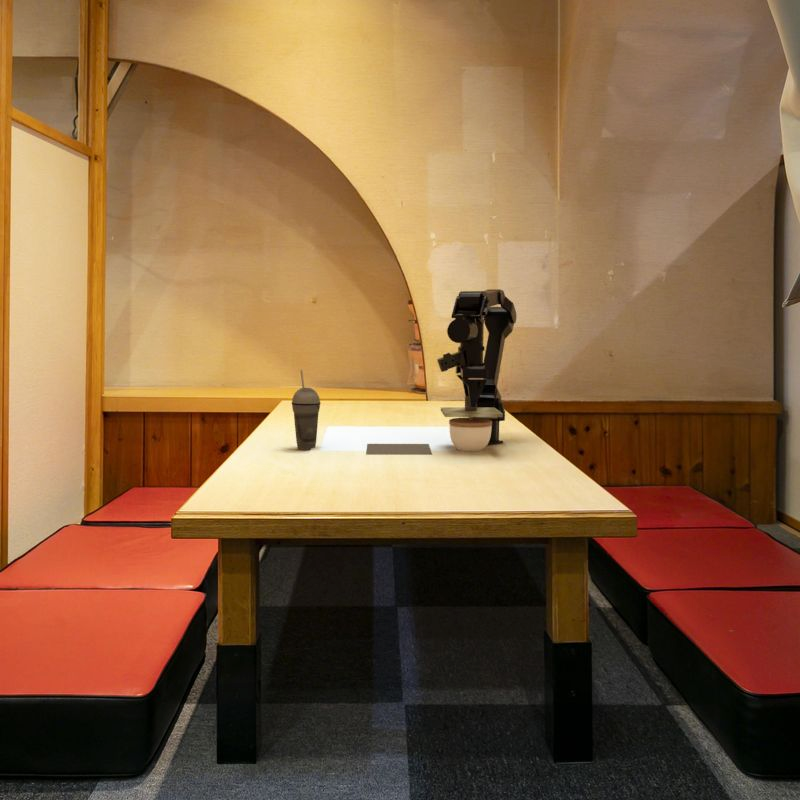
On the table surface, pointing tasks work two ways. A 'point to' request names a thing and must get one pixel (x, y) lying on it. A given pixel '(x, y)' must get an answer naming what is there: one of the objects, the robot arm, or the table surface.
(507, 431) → the table surface
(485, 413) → the lid
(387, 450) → the mat
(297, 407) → the beverage cup
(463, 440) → the lidded jar
